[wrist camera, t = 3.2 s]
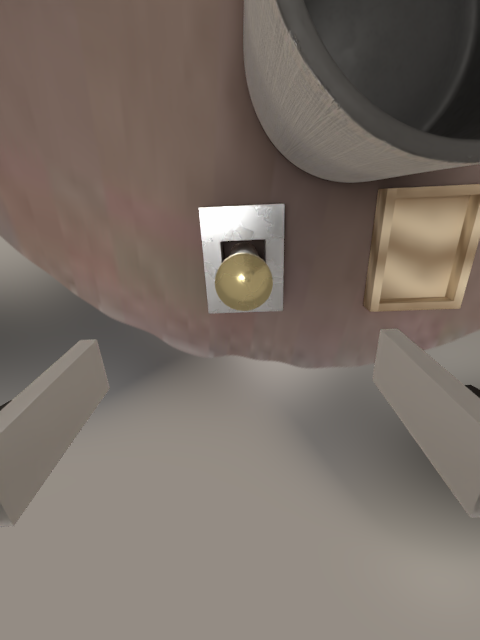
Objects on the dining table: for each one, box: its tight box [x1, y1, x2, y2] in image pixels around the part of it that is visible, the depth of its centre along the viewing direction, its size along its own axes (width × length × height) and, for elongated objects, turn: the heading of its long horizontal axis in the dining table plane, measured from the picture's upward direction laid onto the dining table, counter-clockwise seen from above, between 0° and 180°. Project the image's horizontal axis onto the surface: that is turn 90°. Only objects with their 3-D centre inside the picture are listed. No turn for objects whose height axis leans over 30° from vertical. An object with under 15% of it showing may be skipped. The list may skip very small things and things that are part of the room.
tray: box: [363, 184, 480, 312], centre depth 34 cm, size 14×11×2 cm
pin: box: [215, 242, 273, 311], centre depth 30 cm, size 5×5×12 cm
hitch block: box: [199, 203, 285, 313], centre depth 34 cm, size 12×9×4 cm
